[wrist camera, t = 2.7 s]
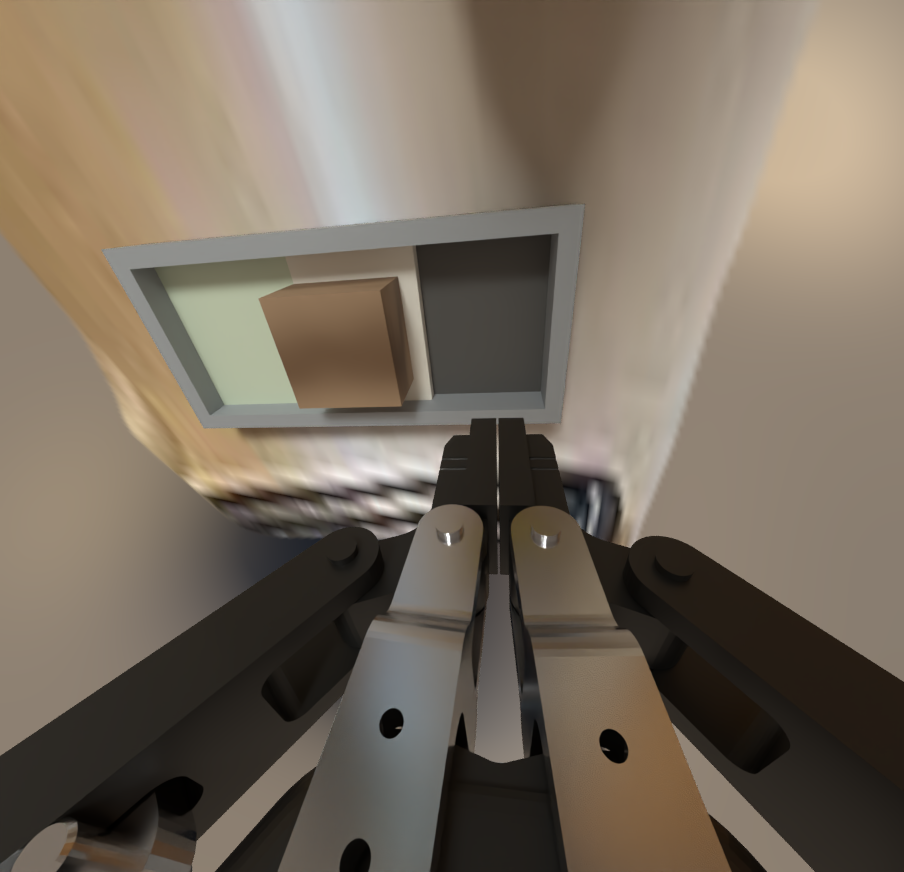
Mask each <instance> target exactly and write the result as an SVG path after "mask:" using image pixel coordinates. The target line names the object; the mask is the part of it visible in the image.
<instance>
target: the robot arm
mask: <svg viewBox="0 0 904 872" xmlns="http://www.w3.org/2000/svg"><path fill="white" fill-rule="evenodd" d="M498 425H499V517H500V574H505V575H509V590H510V594H509V609H510V618H511V626H512V635H513V644H514V653H515V661H516V670H517V679H518V688H519V697H520V710H521V729H522V741H523V750H524V759H520V760H516V761H512V762H508V763H495V762H492V761H489V760H487V759H485V758H483V757H481V756H479V755H477V754H475V753H474V751H475V740H476V725H477V699H478V687H479V677H480V667H481V657H482V647H483V637H484V627H485V617H486V604H487V599H488V595H489V574H497V573H498V570H497V569H498V568H497V567H498V566H497V442H496V418H472V419H471V428H470V435H454V436H453V437H452V438H451V439H450V440H449V441H448V443H447V444H446V445H445V447H444V452H443V456H442V461H441V466H440V471H439V475H438V480H437V485H436V490H435V495H434V499H433V504H432V509H431V510H430V511H429V512H428V513H426V514H425V515H424V516H423V517H422V519H421V520H420V522H419V524H418V526H417V528H416V529H414V530H412V531H410V532H408V533H406V534H403V535H399V536H395V537H391V538H387V539H383V540H379V541H378V540H377V538H376V536H375V535H374V534H373V533H372V532H371V531H369V530H367V529H365V528H361V527H348V528H343V529H340V530H337V531H335V532H332V533H331V534H329V535H327V536H326V537H324V538H323V539H321V540H320V541H318V542H317V543H316V544H314V545H312V546H311V547H309V548H308V549H307V550H305V551H303V552H302V553H301V554H299V555H298V556H296V557H295V558H293V559H292V560H290V561H289V562H287V563H286V564H284V565H283V566H281V567H280V568H278V569H277V570H275V571H274V572H272V573H271V574H269V575H268V576H266V577H265V578H263V579H262V580H260V581H259V582H257V583H256V584H255V585H253V586H252V587H250V588H249V589H247V590H246V591H244V592H243V593H241V594H240V595H238V596H237V597H235V598H234V599H232V600H231V601H229V602H228V603H226V604H225V605H223V606H222V607H220V608H219V609H218V610H216V611H215V612H213V613H212V614H210V615H209V616H207V617H206V618H204V619H203V620H201V621H200V622H198V623H197V624H195V625H194V626H192V627H191V628H189V629H188V630H186V631H185V632H183V633H182V634H181V635H179V636H177V637H176V638H175V639H173V640H171V641H170V642H169V643H167V644H166V645H164V646H163V647H161V648H160V649H158V650H157V651H155V652H154V653H152V654H151V655H150V656H148V657H146V658H145V659H143V660H142V661H140V662H139V663H137V664H136V665H134V666H133V667H131V668H130V669H128V670H127V671H126V672H124V673H123V674H121V675H120V676H118V677H117V678H115V679H114V680H112V681H111V682H109V683H108V684H106V685H105V686H103V687H102V688H100V689H99V690H97V691H96V692H94V693H93V694H91V695H90V696H89V697H87V698H86V699H84V700H83V701H81V702H80V703H78V704H77V705H75V706H74V707H72V708H71V709H69V710H68V711H66V712H65V713H63V714H62V715H60V716H59V717H58V718H56V719H54V720H53V721H51V722H50V723H48V724H47V725H45V726H44V727H43V728H41V729H39V730H38V731H37V732H35V733H34V734H32V735H31V736H29V737H28V738H26V739H25V740H23V741H22V742H20V743H19V744H17V745H16V746H14V747H13V748H12V749H10V750H8V751H7V752H5V753H4V754H2V755H1V756H0V872H192V862H193V858H194V855H195V849H196V841H197V840H198V839H199V838H200V837H201V836H202V835H203V834H204V833H205V832H206V831H207V830H208V829H209V828H210V827H211V826H212V825H213V824H214V823H215V822H216V821H217V820H218V819H219V818H220V817H221V816H222V815H223V814H224V813H225V812H226V811H227V810H228V809H229V808H230V807H231V806H232V805H233V804H234V803H235V802H236V801H237V800H238V799H239V798H240V797H241V796H242V795H243V794H244V793H245V792H246V791H247V790H248V789H249V788H250V787H251V786H252V785H253V784H254V783H255V782H256V781H257V780H258V779H259V778H260V777H261V776H262V775H263V774H264V773H265V772H266V771H267V770H268V769H269V768H270V767H271V766H272V765H273V764H274V763H275V762H276V761H277V760H278V759H279V758H280V757H281V756H282V755H283V754H284V753H285V752H286V751H287V750H288V749H289V748H290V747H291V746H292V745H293V744H294V743H295V742H296V741H297V740H298V739H299V738H300V737H301V736H302V735H303V734H304V733H305V732H306V731H307V730H308V729H309V728H310V727H311V726H312V725H313V724H314V723H315V722H316V721H317V720H318V719H319V718H320V717H321V716H322V715H323V714H324V713H325V712H326V711H327V710H328V709H329V708H330V707H331V706H332V705H333V704H334V703H335V702H336V701H337V700H338V699H339V698H340V697H341V696H342V695H343V694H344V695H343V697H342V700H341V703H340V705H339V708H338V711H337V713H336V716H335V719H334V722H333V724H332V727H331V730H330V733H329V735H328V738H327V740H326V743H325V746H324V749H323V751H322V754H321V756H320V759H319V762H318V764H317V766H316V767H315V768H314V769H312V770H311V771H310V772H308V773H307V774H306V775H304V776H303V777H302V778H301V779H300V780H299V781H298V782H297V783H295V784H294V786H292V787H291V788H290V789H289V790H288V791H287V792H286V793H285V794H284V795H283V796H282V797H281V798H280V799H279V800H278V801H277V803H276V804H275V805H274V806H273V807H272V808H271V809H270V811H269V812H268V813H267V814H266V815H265V816H264V817H263V818H262V820H261V821H260V822H259V823H258V824H257V825H256V826H255V827H254V828H253V830H252V831H251V832H250V833H249V834H248V835H247V836H246V837H245V839H244V840H243V841H242V842H241V843H240V844H239V845H238V846H237V848H236V849H235V850H234V851H233V852H232V853H231V854H230V855H229V857H228V858H227V859H226V860H225V861H224V862H223V863H222V865H220V867H219V868H218V869H217V870H216V871H215V872H767V871H766V870H765V869H764V868H763V867H762V866H761V865H760V863H759V862H758V861H757V860H756V859H755V858H754V857H753V856H752V854H751V853H750V852H749V851H748V850H747V849H746V848H745V847H744V846H743V845H742V844H741V843H740V842H739V841H738V840H737V839H736V838H735V837H734V836H733V835H732V834H731V833H730V832H729V831H728V830H727V829H726V828H725V827H723V826H722V825H721V824H720V823H719V822H718V821H717V820H715V819H714V818H713V817H712V816H711V815H709V814H708V812H707V810H706V807H705V805H704V803H703V800H702V797H701V795H700V793H699V790H698V787H697V785H696V782H695V780H694V778H693V775H692V773H691V770H690V768H689V765H688V763H687V760H686V758H685V755H684V753H683V750H682V748H681V745H680V743H679V740H678V738H677V735H676V733H675V730H674V728H673V726H672V723H673V724H674V725H675V726H676V727H677V728H678V729H679V730H680V731H681V732H682V734H683V735H685V737H686V738H687V739H688V740H690V742H691V743H692V744H693V745H694V746H695V747H696V748H697V749H698V750H699V751H700V752H701V753H702V754H703V755H704V756H705V758H706V759H707V760H708V761H709V762H710V763H711V764H712V765H713V766H714V767H715V768H716V769H717V770H718V771H719V772H720V773H721V774H722V775H723V776H724V777H725V778H726V779H727V780H728V781H729V783H731V785H732V786H733V787H734V788H735V789H736V790H737V791H738V792H739V793H740V794H741V795H742V796H743V797H744V798H745V799H746V800H747V801H748V802H749V803H750V804H751V805H752V806H753V807H754V809H755V810H756V811H757V812H758V813H759V814H760V815H761V816H762V817H763V818H764V819H765V820H766V821H767V822H768V823H769V824H770V825H771V826H772V827H773V828H774V829H775V830H776V831H777V833H778V834H779V835H780V836H781V837H782V838H783V839H784V840H785V841H786V842H787V843H788V844H789V845H790V846H791V847H792V848H793V849H794V850H795V851H796V852H797V853H798V854H799V855H800V856H801V857H802V858H803V860H805V862H806V863H807V864H808V865H809V866H810V867H811V868H812V869H813V870H814V871H815V872H904V682H903V681H902V680H900V679H898V678H897V677H895V676H894V675H892V674H891V673H889V672H888V671H886V670H884V669H883V668H881V667H879V666H878V665H877V664H875V663H873V662H872V661H870V660H868V659H867V658H866V657H864V656H863V655H861V654H859V653H858V652H856V651H854V650H853V649H852V648H850V647H848V646H847V645H845V644H844V643H842V642H840V641H839V640H837V639H836V638H834V637H833V636H831V635H829V634H828V633H827V632H825V631H823V630H822V629H820V628H819V627H817V626H816V625H814V624H812V623H811V622H809V621H808V620H806V619H805V618H803V617H801V616H800V615H798V614H797V613H795V612H794V611H792V610H791V609H789V608H787V607H786V606H784V605H783V604H781V603H779V602H778V601H776V600H775V599H773V598H772V597H770V596H769V595H767V594H765V593H764V592H762V591H761V590H759V589H757V588H756V587H754V586H753V585H751V584H750V583H748V582H746V581H745V580H744V579H742V578H740V577H739V576H737V575H736V574H734V573H732V572H731V571H729V570H728V569H726V568H724V567H723V566H722V565H720V564H719V563H717V562H715V561H714V560H712V559H711V558H709V557H708V556H706V555H704V554H702V553H701V552H700V551H698V550H696V549H695V548H693V547H692V546H690V545H688V544H686V543H684V542H682V541H679V540H676V539H673V538H669V537H663V536H649V537H645V538H642V539H639V540H638V541H636V542H635V543H634V544H633V545H632V547H631V548H628V547H624V546H621V545H617V544H614V543H610V542H607V541H604V540H601V539H598V538H596V537H594V536H591V535H590V534H588V533H586V532H585V531H584V530H582V529H581V528H580V526H579V524H578V523H577V522H576V520H575V519H574V518H573V517H572V516H570V513H569V510H568V506H567V502H566V498H565V494H564V490H563V485H562V481H561V477H560V473H559V470H558V465H557V461H556V457H555V452H554V448H553V445H552V444H551V443H550V442H549V441H548V440H547V438H546V437H545V436H544V435H543V434H529V435H526V431H525V424H524V418H498ZM671 722H672V723H671Z"/></svg>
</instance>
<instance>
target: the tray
mask: <svg viewBox="0 0 904 872" xmlns="http://www.w3.org/2000/svg"><path fill="white" fill-rule="evenodd" d="M584 210H585V204H565V205H555V206H544V207H534V208H523V209H512V210H502V211H491V212H481V213H470V214H459V215H449V216H438V217H428V218H417V219H407V220H396V221H385V222H375V223H364V224H354V225H343V226H332V227H322V228H311V229H301V230H290V231H280V232H269V233H258V234H248V235H237V236H227V237H216V238H205V239H195V240H184V241H174V242H163V243H153V244H142V245H134V246H126V247H118V248H110V249H102V252H103V254H104V255H105V257H106V259H107V261H108V262H109V264H110V266H111V267H112V269H113V271H114V273H115V274H116V276H117V278H118V280H119V281H120V283H121V285H122V287H123V288H124V290H125V292H126V294H127V295H128V297H129V299H130V301H131V302H132V304H133V306H134V308H135V309H136V311H137V313H138V315H139V316H140V318H141V320H142V321H143V323H144V325H145V327H146V328H147V330H148V332H149V334H150V335H151V337H152V339H153V341H154V342H155V344H156V346H157V348H158V349H159V351H160V353H161V355H162V356H163V358H164V360H165V362H166V363H167V365H168V367H169V369H170V370H171V372H172V374H173V375H174V377H175V379H176V381H177V382H178V384H179V386H180V388H181V389H182V391H183V393H184V395H185V396H186V398H187V400H188V402H189V403H190V405H191V407H192V409H193V410H194V412H195V414H196V416H197V417H198V419H199V421H200V423H201V424H202V426H203V428H263V427H334V426H405V425H471V419H472V418H496V424H498V418H524V424H547V423H561V417H562V408H563V399H564V390H565V381H566V372H567V363H568V354H569V345H570V336H571V327H572V318H573V309H574V300H575V291H576V282H577V273H578V264H579V255H580V246H581V237H582V228H583V219H584ZM396 276H398V280H399V287H400V293H401V300H402V306H403V312H404V319H405V325H406V332H407V338H408V345H409V351H410V357H411V364H412V370H413V377H414V380H413V382H412V385H411V387H410V389H409V391H408V393H407V396H406V398H405V400H404V402H403V404H402V406H398V407H352V408H305V409H300V408H299V406H298V403H297V400H296V398H295V395H294V392H293V390H292V387H291V384H290V382H289V379H288V376H287V374H286V371H285V368H284V366H283V363H282V360H281V358H280V355H279V353H278V350H277V347H276V345H275V342H274V339H273V337H272V334H271V331H270V329H269V326H268V323H267V321H266V318H265V315H264V313H263V310H262V307H261V305H260V302H259V299H258V298H261V297H263V296H266V295H268V294H270V293H273V292H275V291H278V290H280V289H283V288H285V287H287V286H290V285H292V284H300V283H313V282H327V281H341V280H355V279H369V278H382V277H396Z"/></svg>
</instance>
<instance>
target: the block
mask: <svg viewBox="0 0 904 872" xmlns="http://www.w3.org/2000/svg"><path fill="white" fill-rule="evenodd" d="M258 299H259V302H260V305H261V307H262V310H263V313H264V315H265V318H266V321H267V323H268V326H269V329H270V331H271V334H272V337H273V339H274V342H275V345H276V347H277V350H278V353H279V355H280V358H281V360H282V363H283V366H284V368H285V371H286V374H287V376H288V379H289V382H290V384H291V387H292V390H293V392H294V395H295V398H296V400H297V403H298V406H299V408H300V409H305V408H352V407H398V406H402V404H403V402H404V400H405V398H406V396H407V393H408V391H409V389H410V387H411V385H412V382H413V380H414V377H413V370H412V364H411V357H410V351H409V345H408V338H407V332H406V325H405V319H404V312H403V306H402V300H401V293H400V287H399V280H398V276H396V277H382V278H369V279H355V280H341V281H327V282H313V283H300V284H292V285H290V286H287V287H285V288H283V289H280V290H278V291H275V292H273V293H270V294H268V295H266V296H263V297H261V298H258Z"/></svg>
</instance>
